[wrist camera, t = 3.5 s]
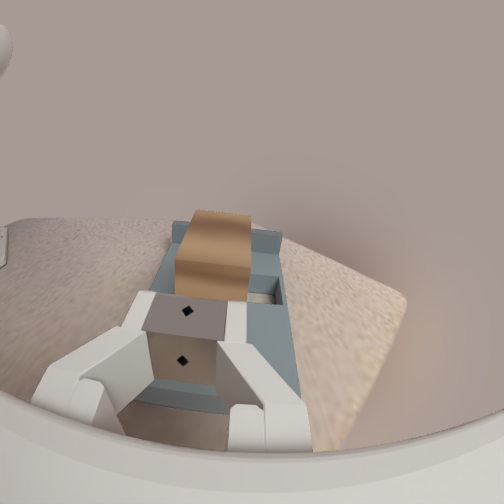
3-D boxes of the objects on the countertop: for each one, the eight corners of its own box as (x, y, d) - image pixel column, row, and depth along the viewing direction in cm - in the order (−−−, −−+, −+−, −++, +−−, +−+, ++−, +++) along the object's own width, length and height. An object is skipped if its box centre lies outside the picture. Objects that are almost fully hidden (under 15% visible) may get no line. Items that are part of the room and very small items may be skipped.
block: (233, 387, 23) (251, 267, 17) (179, 381, 23) (174, 259, 17) (236, 324, 30) (250, 215, 24) (192, 319, 30) (196, 209, 24)
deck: (293, 416, 24) (310, 380, 21) (120, 397, 23) (106, 356, 20) (274, 266, 47) (281, 232, 44) (174, 255, 46) (174, 220, 43)
